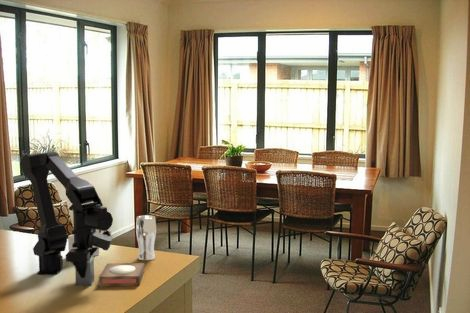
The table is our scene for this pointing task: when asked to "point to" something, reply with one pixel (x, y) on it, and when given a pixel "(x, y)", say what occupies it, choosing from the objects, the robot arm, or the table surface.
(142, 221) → the beer glass
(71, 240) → the container
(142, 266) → the walnut step
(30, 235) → the table surface
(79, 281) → the metal column
